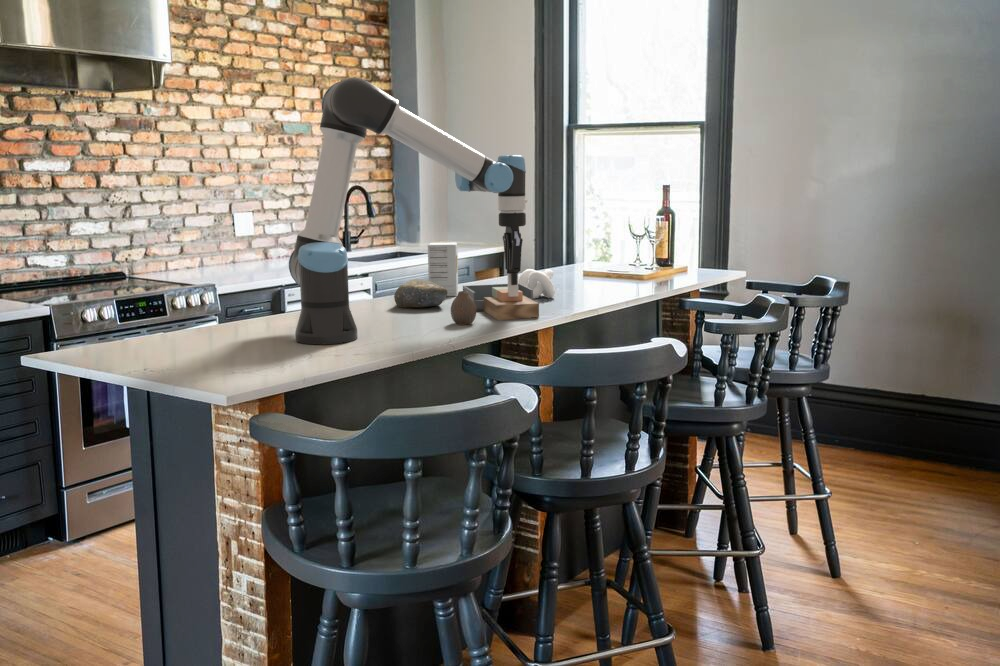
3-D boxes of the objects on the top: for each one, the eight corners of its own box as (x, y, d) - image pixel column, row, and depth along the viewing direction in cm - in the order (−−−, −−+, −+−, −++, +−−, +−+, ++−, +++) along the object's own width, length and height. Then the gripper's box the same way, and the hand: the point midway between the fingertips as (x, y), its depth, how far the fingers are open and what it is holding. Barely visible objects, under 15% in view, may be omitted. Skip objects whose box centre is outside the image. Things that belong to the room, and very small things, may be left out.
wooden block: (497, 319, 251) (496, 305, 250) (484, 310, 266) (483, 297, 266) (538, 317, 254) (538, 303, 253) (523, 308, 269) (523, 295, 269)
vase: (473, 326, 242) (472, 293, 240) (448, 325, 243) (447, 293, 242) (479, 321, 249) (478, 290, 247) (454, 321, 250) (453, 289, 248)
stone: (413, 301, 287) (412, 276, 285) (459, 306, 276) (458, 280, 274) (382, 307, 276) (381, 281, 274) (428, 313, 265) (427, 285, 263)
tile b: (496, 298, 263) (496, 289, 263) (492, 295, 269) (491, 287, 268) (516, 297, 264) (516, 288, 264) (511, 294, 270) (511, 286, 270)
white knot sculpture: (566, 298, 290) (566, 270, 288) (535, 301, 283) (535, 273, 281) (544, 294, 299) (544, 266, 297) (514, 297, 292) (514, 269, 291)
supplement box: (457, 296, 296) (455, 244, 293) (428, 296, 296) (427, 244, 293) (458, 292, 305) (457, 241, 302) (431, 292, 305) (429, 242, 302)
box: (473, 311, 266) (473, 292, 265) (463, 303, 281) (462, 285, 280) (533, 308, 270) (532, 289, 269) (519, 300, 285) (519, 283, 284)
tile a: (502, 301, 257) (502, 292, 257) (497, 298, 263) (497, 289, 263) (522, 300, 259) (522, 291, 258) (517, 297, 264) (517, 289, 264)
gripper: (531, 212, 247) (532, 298, 252) (519, 210, 260) (520, 292, 264) (504, 213, 246) (505, 300, 250) (493, 211, 258) (494, 293, 263)
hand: (513, 296), depth 257 cm, fingers closed
